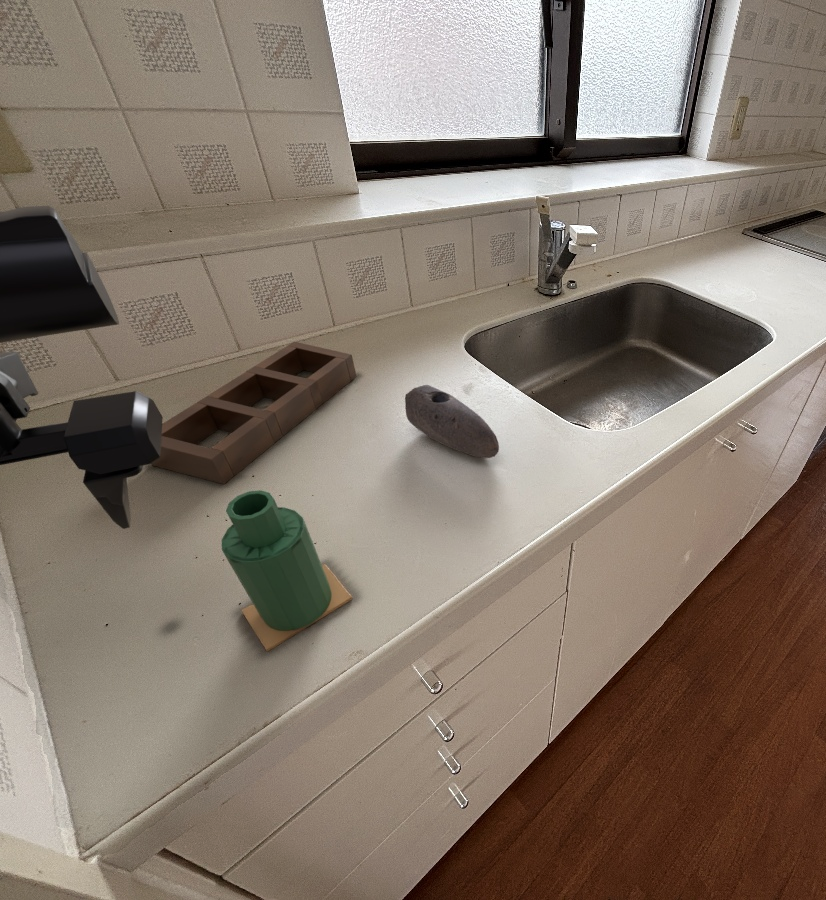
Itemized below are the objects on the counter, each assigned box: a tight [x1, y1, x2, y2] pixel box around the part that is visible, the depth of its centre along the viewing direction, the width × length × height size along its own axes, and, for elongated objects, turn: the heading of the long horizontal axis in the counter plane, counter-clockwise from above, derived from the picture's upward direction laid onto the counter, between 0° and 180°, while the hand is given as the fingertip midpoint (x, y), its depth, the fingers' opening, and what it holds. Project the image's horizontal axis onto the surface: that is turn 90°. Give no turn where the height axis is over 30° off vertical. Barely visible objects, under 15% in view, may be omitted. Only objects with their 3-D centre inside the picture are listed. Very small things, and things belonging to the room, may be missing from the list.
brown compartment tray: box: [150, 341, 357, 485], centre depth 69 cm, size 27×10×4 cm, turn 167°
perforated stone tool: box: [404, 384, 500, 459], centre depth 68 cm, size 15×5×7 cm, turn 58°
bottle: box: [221, 489, 332, 631], centre depth 44 cm, size 6×6×14 cm
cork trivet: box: [241, 563, 353, 652], centre depth 49 cm, size 8×6×1 cm
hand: (47, 544), depth 37 cm, fingers open, 9 cm apart
